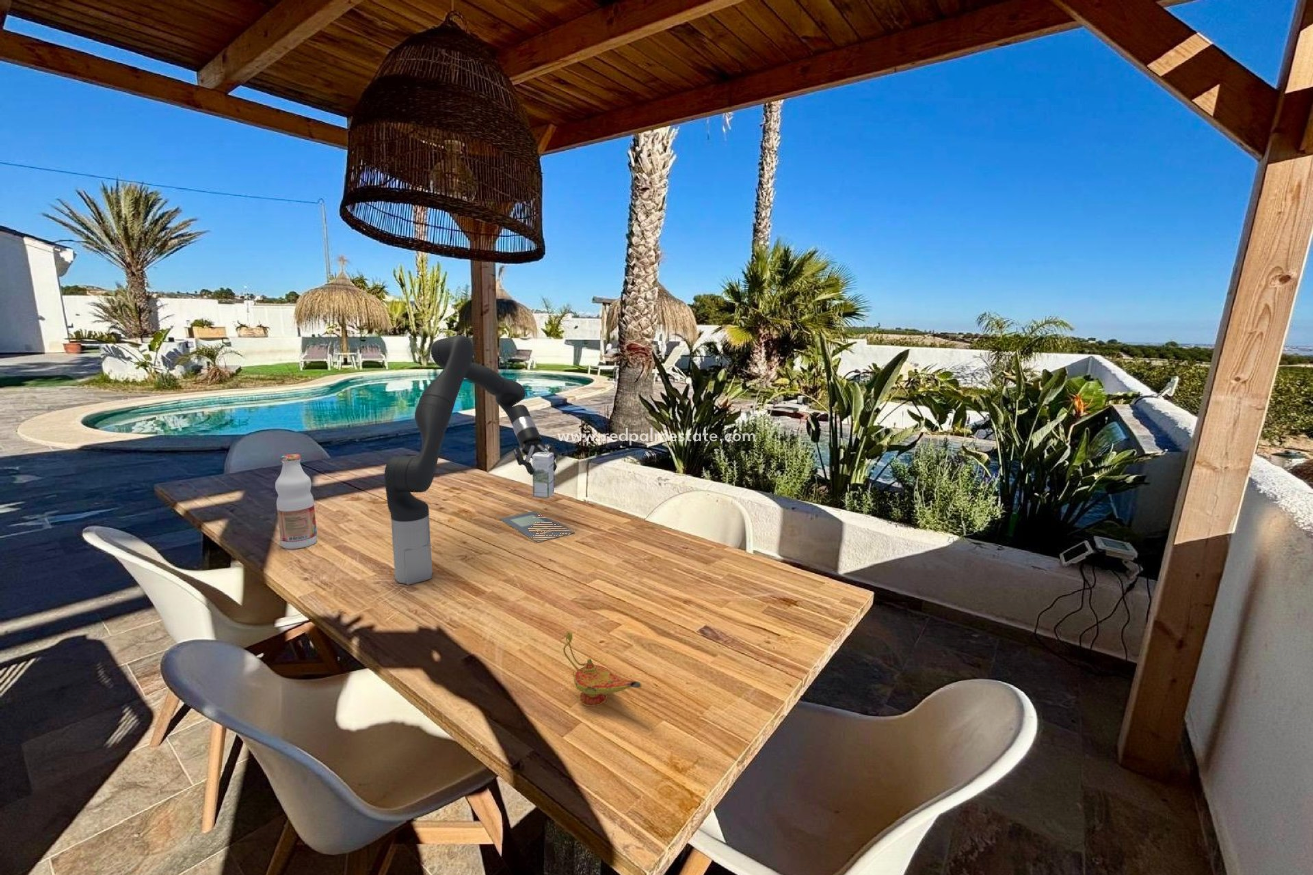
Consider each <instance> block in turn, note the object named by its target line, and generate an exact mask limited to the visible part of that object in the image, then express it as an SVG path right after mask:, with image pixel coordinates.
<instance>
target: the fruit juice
mask: <svg viewBox="0 0 1313 875" xmlns="http://www.w3.org/2000/svg"><path fill="white" fill-rule="evenodd" d="M280 461H281V463H282V466H281V471H280V474H279V476H278V477H277V479H276V480H275V483H274V484H275V485H274V487H275V491H276V493H277V498H276V510H277V511H276V512H277V521H278V529H279V538H280V539H279V540H280V545H281V547H282V548H284V549H288V550H296V549H303V548H306V547H310V546H312V545H314V544H316V543H317V541H318V530H317V519H316V511H315V500H314V496H313V494H312V493H311V488H312V480H311V477H310V476H309V475H307V473H306V472H305V471H304V470H303V467H302V465H301V454H296V453H295V454H294V453H293V454H285V455H281V456H280Z"/></svg>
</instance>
